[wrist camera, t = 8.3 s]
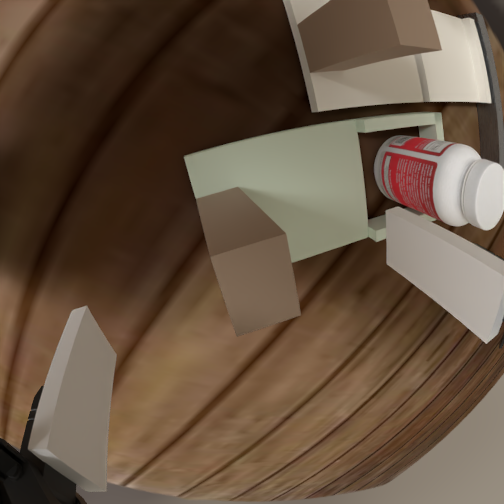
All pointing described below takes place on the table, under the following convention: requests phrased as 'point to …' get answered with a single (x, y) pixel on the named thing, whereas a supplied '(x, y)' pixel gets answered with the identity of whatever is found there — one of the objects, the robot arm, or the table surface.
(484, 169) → the pill bottle
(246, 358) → the table surface
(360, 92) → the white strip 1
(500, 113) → the end bar
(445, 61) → the white strip
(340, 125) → the pale green stand
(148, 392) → the table surface
